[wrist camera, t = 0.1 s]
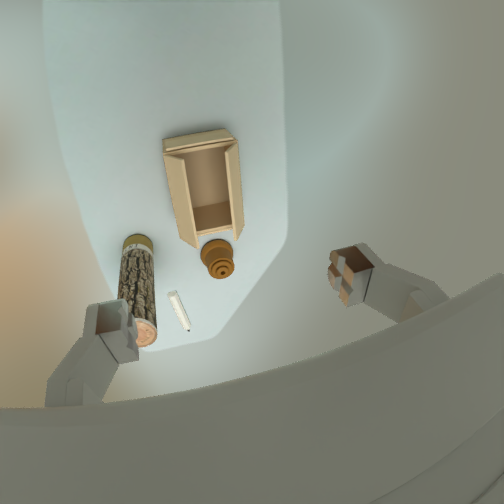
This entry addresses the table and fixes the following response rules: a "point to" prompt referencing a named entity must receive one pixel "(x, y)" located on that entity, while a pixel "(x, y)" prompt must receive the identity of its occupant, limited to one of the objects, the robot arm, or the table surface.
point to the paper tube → (139, 286)
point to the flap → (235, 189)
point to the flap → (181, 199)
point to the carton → (205, 177)
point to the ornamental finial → (218, 258)
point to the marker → (179, 310)
